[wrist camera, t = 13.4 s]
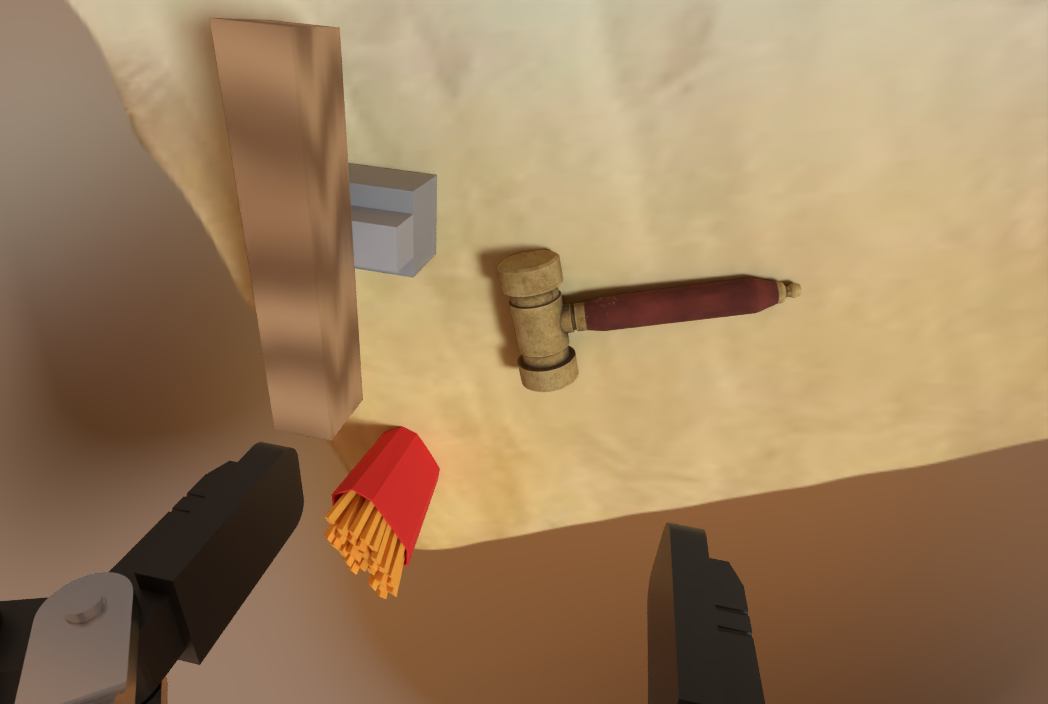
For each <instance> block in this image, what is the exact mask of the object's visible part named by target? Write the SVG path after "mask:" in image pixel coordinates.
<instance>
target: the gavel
mask: <svg viewBox="0 0 1048 704" xmlns="http://www.w3.org/2000/svg"><path fill="white" fill-rule="evenodd" d="M497 270H498V275H499V279H500V284H501V289H502V292H503V293H504V294H505V295H508V296H510V301H509V306H510V310H511V315H512V320H513V324H514V329H515V334H516V338H517V343H518V348H519V351H520V353H521V354H522V355H521V356H520V357H519V359H518V367H519V371H520V376H521V380H522V384H523V385H524V387H526V388H527V389H529V390H532V391H538V392H550V391H555V390H559V389H562V388H564V387H566V386H568V385H570V384H571V383H572V382H574V381H575V380H576V378H577V377H578V374H579V373H578V366H577V360H576V354H575V350H574V349H573V348H572V347H571V346H568V344H569V337H568V333H571V332H574V330H576V329H577V331H585V330H596V331H608V330H617V329H625V328H634V327H642V326H650V325H659V324H667V323H676V322H684V321H693V320H701V319H710V318H718V317H727V316H735V315H744V314H752V313H757V312H760V311H762V310H764V309H766V308H769V307H771V306H773V305H775V304H778V303H783V302H784V301H785V299H786V297H792V298H795V297H798V296H800V295H801V291H802V289H801V286H800V284H797V283H792V284H789V285H788V286H785V285H784V284H783V282H781V281H776V282H775V281H769V280H763V279H758V278H745V279H737V280H729V281H721V282H714V283H706V284H698V285H690V286H683V287H675V288H667V289H659V290H652V291H644V292H636V293H628V294H621V295H613V296H605V297H599V298H596V299H593V300H589V301H586V302H580V303H574V305H572V306H571V304H563V301H562V295H561V292H560V291H559V290H558V286H559V285H560V284H561V283H562V282H563V275H562V269H561V263H560V257H559V255H558V254H557V253H555V252H553V251H550V250H535V251H528V252H521V253H517V254H514V255H512V256H509V257H507V258H506V259H504V260H503V261H501V262H500V263H499V265H498V266H497Z"/></svg>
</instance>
